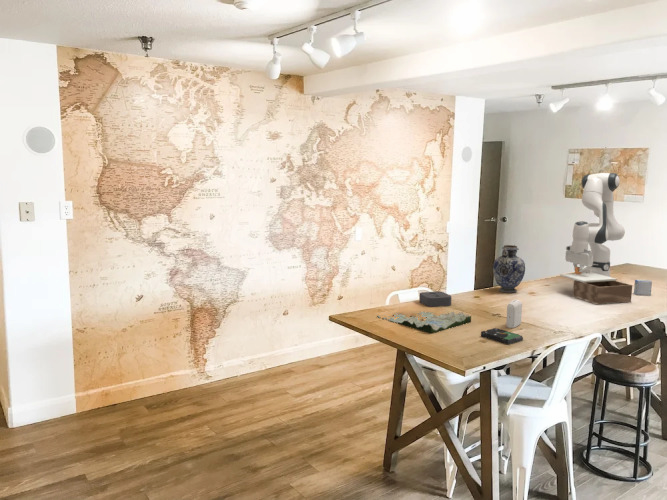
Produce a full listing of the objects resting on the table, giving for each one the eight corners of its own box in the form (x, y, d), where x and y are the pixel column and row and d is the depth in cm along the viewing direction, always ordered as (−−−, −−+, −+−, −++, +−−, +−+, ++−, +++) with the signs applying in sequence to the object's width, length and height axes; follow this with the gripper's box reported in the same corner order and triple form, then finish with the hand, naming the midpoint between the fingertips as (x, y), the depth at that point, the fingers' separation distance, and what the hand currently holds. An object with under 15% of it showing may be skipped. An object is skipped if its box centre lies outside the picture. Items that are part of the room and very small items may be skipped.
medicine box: (647, 293, 315) (648, 279, 314) (651, 295, 311) (652, 281, 309) (633, 293, 316) (634, 279, 315) (636, 295, 311) (638, 280, 310)
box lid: (560, 275, 319) (560, 267, 318) (591, 273, 324) (592, 265, 324) (583, 282, 300) (584, 273, 299) (616, 280, 305) (617, 272, 304)
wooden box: (572, 296, 309) (573, 280, 307) (604, 294, 314) (605, 278, 313) (597, 304, 290) (598, 287, 288) (630, 302, 295) (632, 285, 293)
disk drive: (480, 337, 235) (508, 346, 223) (480, 331, 234) (508, 339, 223) (494, 333, 241) (523, 341, 229) (495, 327, 240) (523, 335, 229)
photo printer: (513, 328, 246) (515, 303, 244) (505, 327, 248) (506, 301, 247) (522, 324, 253) (523, 298, 252) (513, 322, 256) (514, 297, 254)
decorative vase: (498, 285, 337) (500, 242, 333) (527, 289, 327) (531, 245, 322) (486, 292, 320) (489, 246, 316) (517, 296, 310) (520, 249, 305)
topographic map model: (376, 318, 266) (376, 308, 265) (416, 309, 284) (416, 300, 283) (431, 335, 238) (431, 324, 238) (471, 323, 257) (471, 313, 256)
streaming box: (417, 301, 299) (417, 292, 298) (440, 299, 303) (441, 291, 302) (429, 307, 285) (429, 298, 284) (453, 306, 289) (453, 296, 288)
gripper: (596, 250, 309) (594, 274, 311) (572, 246, 328) (571, 268, 330) (587, 251, 307) (585, 274, 309) (564, 246, 327) (562, 268, 329)
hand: (578, 271), depth 320 cm, fingers closed on box lid, 2 cm apart
